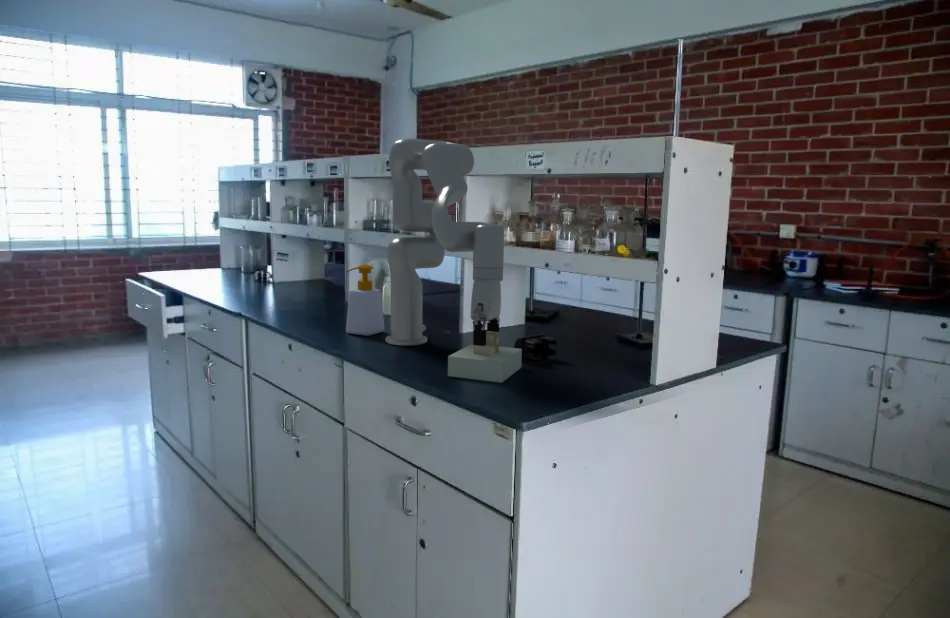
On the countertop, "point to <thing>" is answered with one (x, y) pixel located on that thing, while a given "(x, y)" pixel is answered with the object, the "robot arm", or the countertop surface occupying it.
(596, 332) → the countertop surface
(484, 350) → the maple cube
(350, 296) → the soap bottle
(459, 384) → the countertop surface
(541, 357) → the end cap
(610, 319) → the countertop surface
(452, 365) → the sage stand
